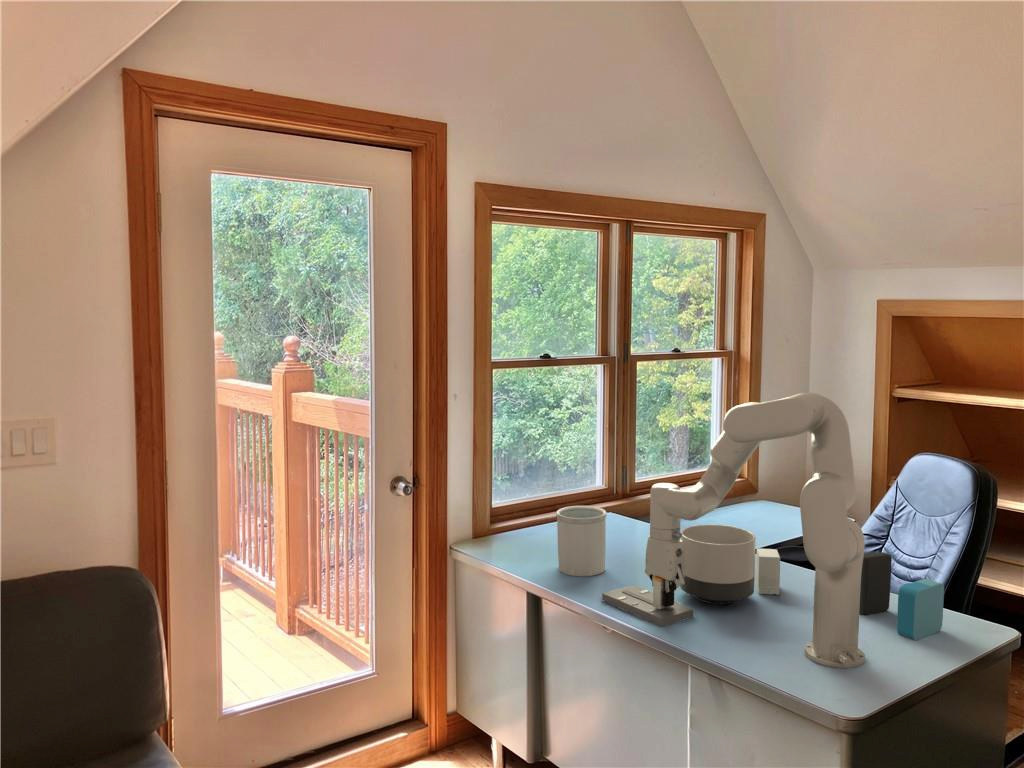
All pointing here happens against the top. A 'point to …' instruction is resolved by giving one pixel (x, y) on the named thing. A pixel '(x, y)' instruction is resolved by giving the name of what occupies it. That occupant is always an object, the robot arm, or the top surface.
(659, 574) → the robot arm
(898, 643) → the top surface
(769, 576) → the small box
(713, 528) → the planter
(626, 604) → the console board
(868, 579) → the card reader
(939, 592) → the data package
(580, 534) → the utensil holder
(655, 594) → the fader tab
